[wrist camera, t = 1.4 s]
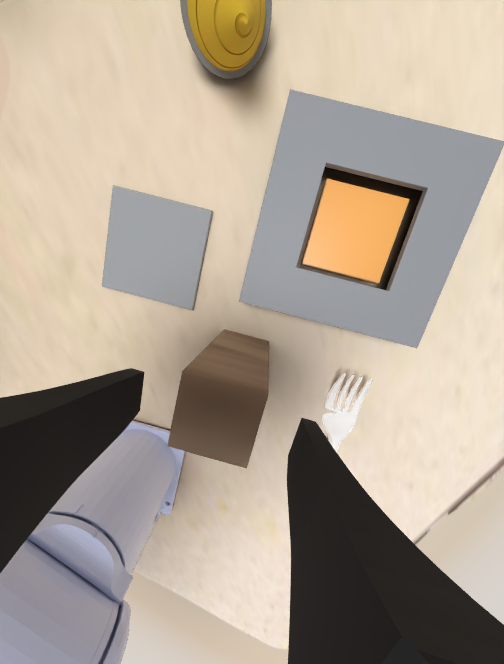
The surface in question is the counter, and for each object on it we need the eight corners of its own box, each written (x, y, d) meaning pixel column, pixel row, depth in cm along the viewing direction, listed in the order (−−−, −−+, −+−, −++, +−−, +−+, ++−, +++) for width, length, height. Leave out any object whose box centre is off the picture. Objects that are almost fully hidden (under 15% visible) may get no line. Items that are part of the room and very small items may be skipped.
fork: (288, 539, 25) (289, 559, 23) (332, 364, 21) (338, 371, 19) (318, 545, 25) (322, 567, 23) (369, 371, 20) (379, 379, 19)
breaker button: (374, 283, 17) (378, 283, 17) (301, 264, 17) (302, 263, 17) (402, 203, 16) (409, 199, 15) (324, 183, 16) (327, 178, 15)
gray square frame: (394, 338, 19) (417, 348, 16) (243, 298, 20) (239, 301, 17) (463, 167, 17) (505, 141, 14) (286, 123, 17) (290, 89, 14)
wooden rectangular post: (257, 382, 21) (246, 468, 11) (214, 371, 21) (167, 446, 11) (268, 341, 20) (268, 394, 10) (224, 329, 20) (182, 371, 10)
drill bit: (274, -2, 16) (328, 3, 10) (230, 88, 19) (254, 129, 13) (204, -109, 13) (229, -183, 7) (165, 20, 16) (162, 38, 10)
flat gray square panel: (193, 309, 20) (191, 310, 20) (105, 286, 20) (101, 286, 20) (212, 212, 18) (211, 210, 18) (116, 187, 18) (113, 185, 18)
